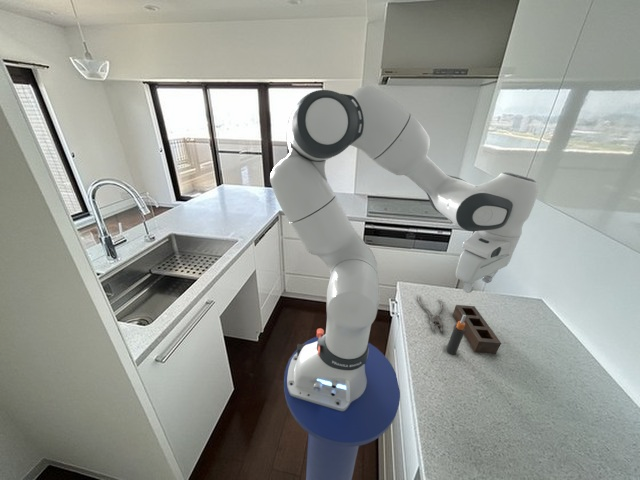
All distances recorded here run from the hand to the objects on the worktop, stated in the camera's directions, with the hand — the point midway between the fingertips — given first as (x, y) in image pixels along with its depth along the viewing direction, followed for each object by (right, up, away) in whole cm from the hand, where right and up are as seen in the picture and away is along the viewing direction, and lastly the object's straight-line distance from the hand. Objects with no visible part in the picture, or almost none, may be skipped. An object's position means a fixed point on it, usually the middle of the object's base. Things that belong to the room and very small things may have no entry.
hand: (477, 286), depth 69 cm
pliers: (+3, -16, +30) cm, 34 cm away
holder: (+12, -21, +22) cm, 32 cm away
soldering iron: (0, -24, +14) cm, 28 cm away
